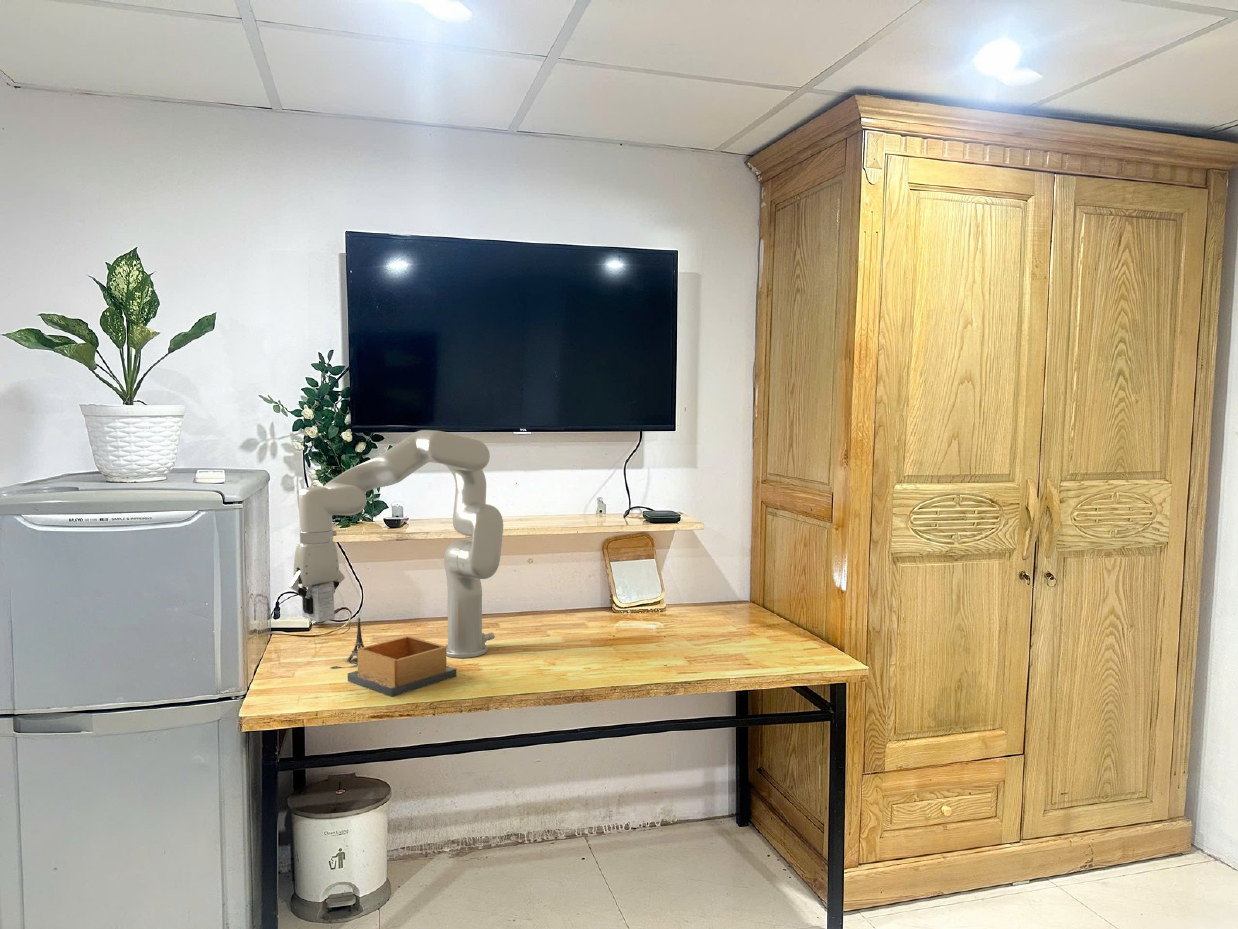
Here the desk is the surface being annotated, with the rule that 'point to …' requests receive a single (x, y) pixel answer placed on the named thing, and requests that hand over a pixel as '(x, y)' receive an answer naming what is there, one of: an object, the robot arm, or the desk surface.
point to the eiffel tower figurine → (355, 651)
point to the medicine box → (321, 603)
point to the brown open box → (401, 666)
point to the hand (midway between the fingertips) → (318, 610)
